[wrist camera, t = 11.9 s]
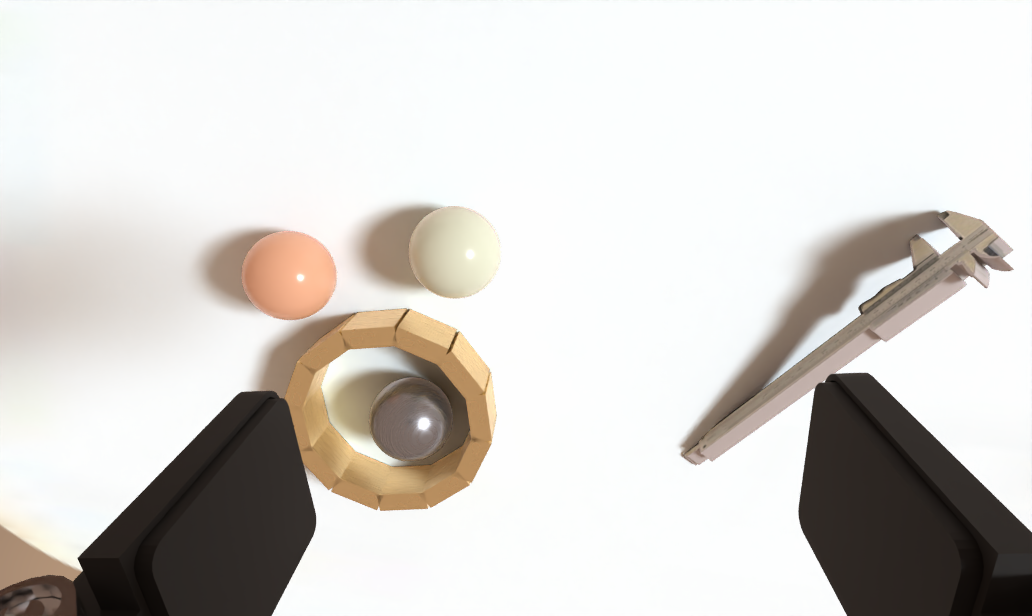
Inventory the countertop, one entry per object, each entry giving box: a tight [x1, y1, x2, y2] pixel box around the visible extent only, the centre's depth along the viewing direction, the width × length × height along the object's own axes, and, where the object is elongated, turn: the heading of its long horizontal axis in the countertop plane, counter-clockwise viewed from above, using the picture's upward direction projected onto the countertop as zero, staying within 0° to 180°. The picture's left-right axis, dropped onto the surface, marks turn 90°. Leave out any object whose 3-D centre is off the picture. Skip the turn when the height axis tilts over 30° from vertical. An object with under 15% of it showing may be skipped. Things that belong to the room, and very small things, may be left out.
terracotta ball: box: [241, 231, 337, 320], centre depth 33 cm, size 5×5×5 cm
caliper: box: [684, 211, 1013, 465], centre depth 32 cm, size 20×1×6 cm, turn 143°
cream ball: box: [409, 206, 501, 299], centre depth 32 cm, size 5×5×5 cm
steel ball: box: [369, 377, 453, 461], centre depth 36 cm, size 5×5×5 cm
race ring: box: [284, 309, 497, 511], centre depth 37 cm, size 12×12×3 cm
